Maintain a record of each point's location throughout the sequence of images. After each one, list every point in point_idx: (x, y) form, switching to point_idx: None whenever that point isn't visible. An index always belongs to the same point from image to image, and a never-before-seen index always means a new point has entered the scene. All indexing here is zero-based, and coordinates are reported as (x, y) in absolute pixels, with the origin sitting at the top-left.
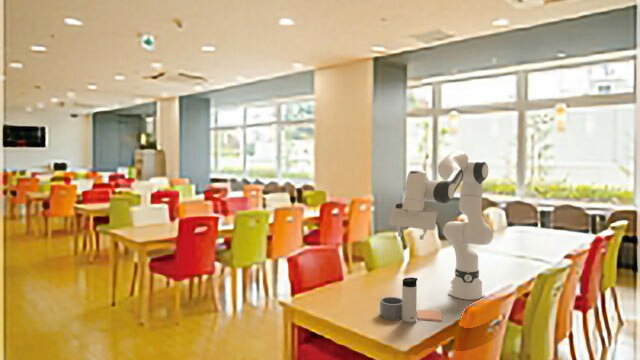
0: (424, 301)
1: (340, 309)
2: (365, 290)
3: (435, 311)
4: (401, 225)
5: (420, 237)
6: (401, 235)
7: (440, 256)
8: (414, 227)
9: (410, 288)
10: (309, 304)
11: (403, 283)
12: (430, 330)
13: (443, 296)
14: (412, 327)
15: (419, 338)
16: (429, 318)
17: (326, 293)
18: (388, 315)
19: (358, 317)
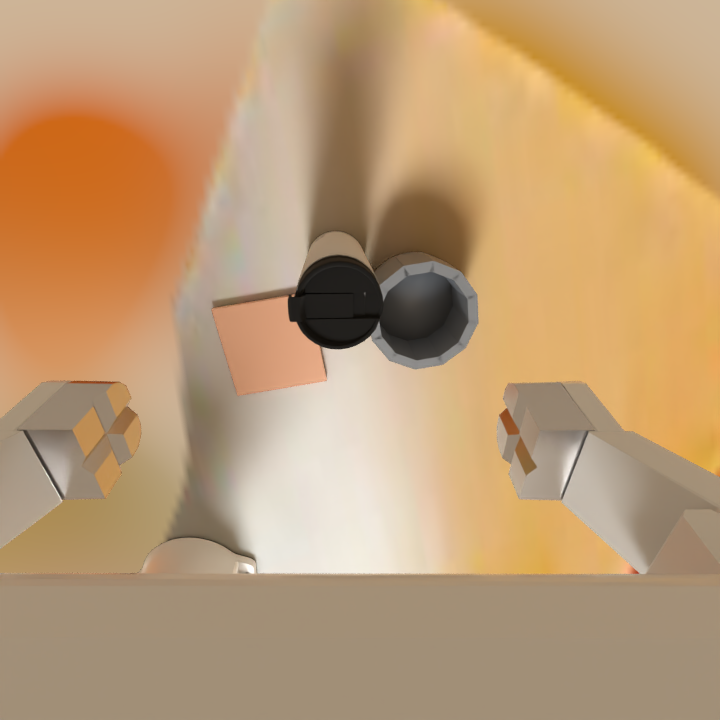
0: (320, 477)
1: (620, 291)
2: (543, 507)
3: (256, 384)
4: (715, 596)
5: (84, 399)
6: (514, 408)
7: None
8: (115, 580)
9: (325, 256)
10: None
11: (372, 273)
12: (234, 192)
13: (266, 542)
14: (310, 199)
15: (256, 78)
16: (261, 303)
17: (685, 434)
18: (422, 252)
19: (541, 230)
